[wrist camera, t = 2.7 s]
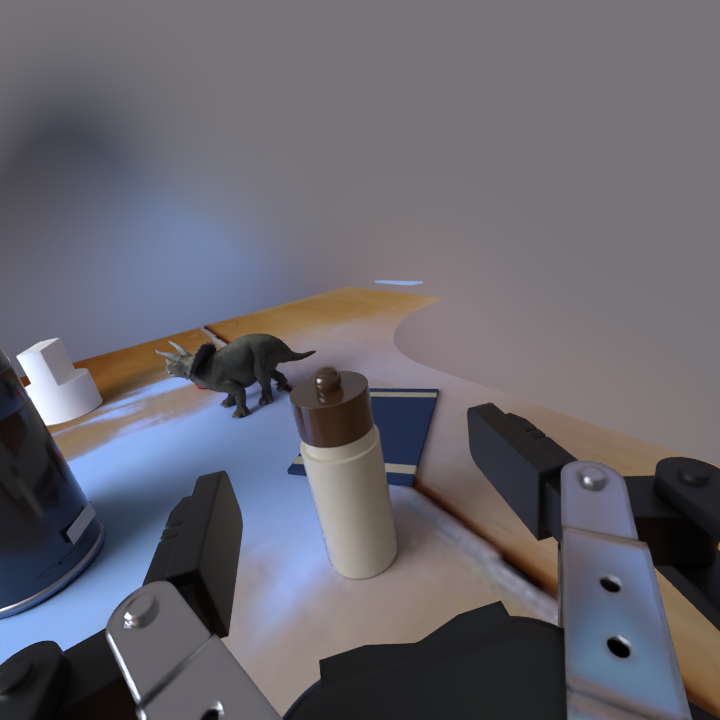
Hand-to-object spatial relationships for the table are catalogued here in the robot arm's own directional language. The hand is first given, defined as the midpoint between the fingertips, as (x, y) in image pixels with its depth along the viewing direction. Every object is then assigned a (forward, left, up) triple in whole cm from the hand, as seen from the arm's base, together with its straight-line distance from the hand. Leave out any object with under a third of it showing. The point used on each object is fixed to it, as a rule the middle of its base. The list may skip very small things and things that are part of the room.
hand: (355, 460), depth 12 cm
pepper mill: (-6, +10, -16) cm, 20 cm away
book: (-10, +26, -16) cm, 32 cm away
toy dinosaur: (-30, +32, -16) cm, 46 cm away
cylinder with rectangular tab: (-65, +27, -16) cm, 72 cm away
